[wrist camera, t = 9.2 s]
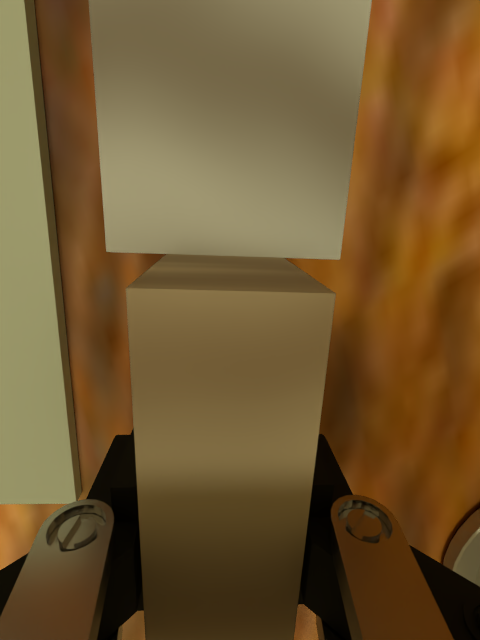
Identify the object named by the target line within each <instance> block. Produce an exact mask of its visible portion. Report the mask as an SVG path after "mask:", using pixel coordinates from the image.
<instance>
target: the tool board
mask: <svg viewBox="0 0 480 640" xmlns="http://www.w3.org/2000/svg"><path fill="white" fill-rule="evenodd" d="M81 493H82V489H81V479H80V468H79V458H78V448H77V438H76V427H75V417H74V407H73V396H72V386H71V376H70V365H69V355H68V345H67V335H66V324H65V314H64V304H63V293H62V283H61V273H60V263H59V252H58V242H57V232H56V221H55V211H54V201H53V190H52V180H51V170H50V160H49V149H48V139H47V129H46V118H45V108H44V98H43V88H42V77H41V67H40V57H39V46H38V36H37V26H36V15H35V5H34V0H0V504H70V503H72V502H75V501H78V499H79V497H80V495H81Z"/></svg>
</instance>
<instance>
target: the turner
mask: <svg viewBox="0 0 480 640" xmlns="http://www.w3.org/2000/svg"><path fill="white" fill-rule="evenodd" d="M371 2H372V0H89V11H90V26H91V40H92V54H93V68H94V82H95V97H96V111H97V125H98V139H99V153H100V168H101V182H102V196H103V210H104V224H105V239H106V252H123V253H154V254H166V255H165V256H164V257H163V258H161V259H160V260H159V261H158V262H157V263H155V264H154V265H153V266H152V267H151V268H149V269H148V270H147V271H146V272H145V273H143V274H142V275H141V276H140V277H139V278H137V279H136V280H135V281H134V282H133V283H131V284H130V285H129V286H128V287H127V288H126V299H127V317H128V335H129V353H130V370H131V388H132V406H133V424H134V442H135V459H136V477H137V495H138V513H139V531H140V548H141V566H142V584H143V602H144V620H145V638H146V640H294V632H295V623H296V615H297V607H298V599H299V591H300V582H301V574H302V566H303V558H304V550H305V542H306V533H307V525H308V517H309V509H310V501H311V492H312V484H313V476H314V468H315V460H316V452H317V443H318V435H319V427H320V419H321V411H322V402H323V394H324V386H325V378H326V370H327V362H328V353H329V345H330V337H331V329H332V321H333V312H334V304H335V296H336V293H334V292H333V291H331V290H330V289H328V288H327V287H326V286H324V285H323V284H321V283H320V282H318V281H317V280H315V279H314V278H312V277H311V276H310V275H308V274H307V273H305V272H304V271H302V270H301V269H299V268H298V267H296V266H295V265H293V264H292V263H291V262H289V261H288V260H286V259H285V258H306V259H337V260H340V255H341V247H342V239H343V231H344V223H345V215H346V206H347V198H348V190H349V182H350V174H351V165H352V157H353V149H354V141H355V133H356V125H357V116H358V108H359V100H360V92H361V84H362V76H363V67H364V59H365V51H366V43H367V35H368V26H369V18H370V10H371Z"/></svg>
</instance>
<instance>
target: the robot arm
mask: <svg viewBox="0 0 480 640" xmlns="http://www.w3.org/2000/svg"><path fill="white" fill-rule="evenodd" d="M298 604H304V605H305V606H307V607H308V608H309V609H310V610H311V611H313V612H314V613H315V614H316V625H317V631H318V638H319V640H480V508H479V509H478V510H476V511H475V512H474V513H473V514H472V515H471V516H470V517H469V518H468V519H467V520H466V521H465V522H464V523H463V525H462V526H461V527H460V528H459V529H458V531H457V533H456V534H455V536H454V537H453V539H452V540H451V542H450V544H449V547H448V549H447V552H446V554H445V557H444V562H443V565H442V564H441V563H439V562H437V561H435V560H434V559H432V558H430V557H429V556H427V555H425V554H424V553H422V552H420V551H418V550H417V549H415V548H413V547H412V546H410V545H409V544H408V542H407V540H406V538H405V536H404V534H403V532H402V529H401V527H400V525H399V523H398V521H397V520H396V518H395V517H394V515H393V514H392V513H391V512H390V511H389V510H388V509H387V508H386V507H385V506H383V505H382V504H380V503H379V502H377V501H375V500H373V499H370V498H368V497H365V496H359V495H353V494H352V492H351V490H350V488H349V486H348V484H347V482H346V479H345V477H344V475H343V473H342V471H341V469H340V467H339V465H338V463H337V461H336V459H335V457H334V455H333V453H332V451H331V448H330V446H329V444H328V442H327V440H326V438H325V437H324V435H322V434H319V435H318V443H317V452H316V460H315V468H314V476H313V484H312V492H311V501H310V509H309V517H308V525H307V533H306V542H305V550H304V558H303V566H302V574H301V582H300V591H299V599H298ZM141 610H144V602H143V584H142V566H141V548H140V531H139V513H138V495H137V477H136V459H135V442H134V428H133V430H132V433H131V435H116V436H115V438H114V440H113V442H112V444H111V446H110V448H109V451H108V453H107V455H106V457H105V459H104V461H103V464H102V466H101V468H100V470H99V472H98V475H97V477H96V479H95V481H94V483H93V485H92V488H91V490H90V492H89V494H88V496H87V499H85V500H80V501H75V502H72V503H70V504H67V505H65V506H63V507H61V508H60V509H58V510H57V511H55V512H54V513H53V514H52V515H50V516H49V517H48V518H47V519H46V520H45V522H44V523H43V525H42V526H41V528H40V529H39V531H38V534H37V536H36V538H35V540H34V543H33V545H32V547H31V549H30V552H29V553H28V554H26V555H25V556H23V557H21V558H20V559H18V560H16V561H15V562H13V563H12V564H10V565H8V566H7V567H5V568H3V569H2V570H0V640H121V639H122V624H123V623H124V622H126V621H127V620H128V619H129V618H130V617H131V616H132V615H133V614H134V613H136V612H137V611H141Z"/></svg>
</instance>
